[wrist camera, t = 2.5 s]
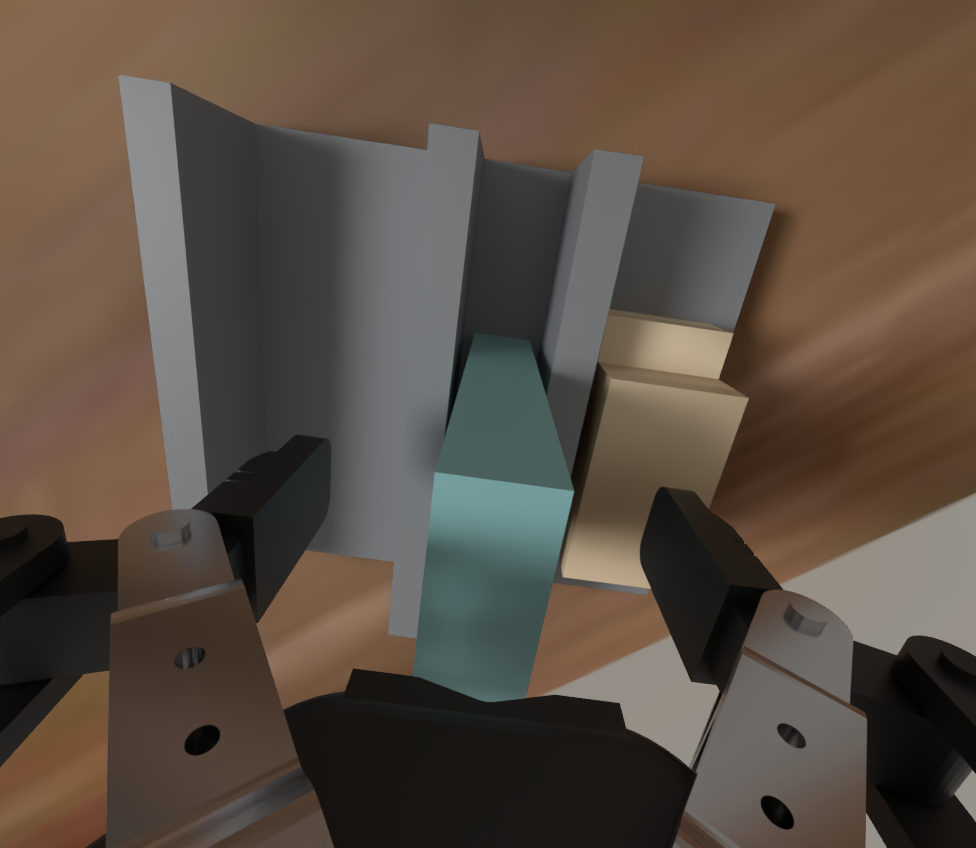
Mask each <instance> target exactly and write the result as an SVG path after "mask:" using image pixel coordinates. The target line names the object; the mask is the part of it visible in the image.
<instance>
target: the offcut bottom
mask: <svg viewBox="0 0 976 848" xmlns="http://www.w3.org/2000/svg"><path fill="white" fill-rule="evenodd" d="M733 334H734V333H731V332H729V331H726V330H724V329H721V328H718V327H716V326H713V325H711V324H708V323H703V322H696V321H689V320H682V319H675V318H669V317H662V316H655V315H648V314H641V313H634V312H628V311H621V310H614V309H609V312H608V316H607V321H606V325H605V329H604V334H603V338H602V343H601V347H600V351H599V356H598V360H597V362H602V363H609V364H616V365H623V366H630V367H637V368H644V369H651V370H658V371H665V372H672V373H679V374H686V375H693V376H700V377H707V378H714V379H719V376H720V373H721V370H722V367H723V364H724V361H725V358H726V355H727V352H728V349H729V346H730V343H731V340H732V337H733ZM596 366H597V364H596ZM595 371H596V369H595ZM594 375H595V373H594ZM593 380H594V377H593ZM592 384H593V382H592ZM591 388H592V386H591ZM590 393H591V391H590ZM589 397H590V395H589ZM588 401H589V399H588ZM587 406H588V404H587ZM586 410H587V408H586ZM585 414H586V412H585ZM584 419H585V417H584ZM583 423H584V421H583ZM582 427H583V425H582ZM581 432H582V430H581ZM580 436H581V434H580ZM579 441H580V439H579ZM578 445H579V443H578ZM577 449H578V447H577ZM576 454H577V452H576ZM575 458H576V456H575ZM574 462H575V460H574ZM573 467H574V465H573ZM572 471H573V469H572ZM571 475H572V473H571ZM570 479H571V478H570Z"/></svg>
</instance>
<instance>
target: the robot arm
mask: <svg viewBox="0 0 976 848" xmlns="http://www.w3.org/2000/svg"><path fill="white" fill-rule="evenodd" d="M330 485H331V443H330V440H329V439H327V438H320V437H313V436H306V435H299V434H296V435H295V436H293V437H292V438H291V439H290V440H289V441H288V442H287V443H286V444H285V445H283V446H282V447H281V448H280V449H279V450H278V451H277V452H276V451H268V452H266V453H263V454H261V455H258V456H256V457H253V458H251V459H249V460H248V461H247V462H246V463H245V464H243V465H242V466H241V467H240V468H239V469H237V472H234V473H233V474H232V475H230V476H229V477H228V478H227V479H226V481H225V482H222V483H221V484H220V485H218V486H217V487H216V488H215V489H214V490H213V491H211V492H210V493H209V494H208V495H207V496H205V497H204V498H203V499H202V500H201V501H200V502H198V503H197V504H196V505H195V506H194V507H192V508H191V509H175V510H168V511H163V512H159V513H155V514H152V515H149V516H146V517H144V518H141V519H139V520H137V521H136V522H134V523H132V524H131V525H129V526H128V527H127V528H126V529H125V530H124V531H123V532H122V533H121V535H120V536H119V539H113V540H96V541H80V542H67V540H66V535H65V531H64V526H63V524H62V522H61V521H60V520H58V519H56V518H54V517H51V516H46V515H34V514H33V515H17V516H10V517H4V518H0V767H1V766H2V765H3V763H4V762H5V761H6V760H7V759H8V758H9V757H10V756H11V755H12V753H13V752H14V751H15V750H16V749H17V748H18V747H19V746H20V745H21V743H22V742H23V741H24V740H25V739H26V738H27V737H28V736H29V734H30V733H31V732H32V731H33V730H34V729H35V728H36V727H37V726H38V724H39V723H40V722H41V721H42V720H43V719H44V718H45V717H46V716H47V714H48V713H49V712H50V711H51V710H52V709H53V708H54V707H55V706H56V704H57V703H58V702H59V701H60V700H61V699H62V698H63V697H64V696H65V694H66V693H67V692H68V691H69V690H70V689H71V688H72V687H73V685H74V684H75V683H76V682H77V681H78V680H79V679H80V678H81V677H82V675H83V674H87V673H95V672H102V671H109V708H108V755H107V802H106V833H105V834H104V835H102V836H101V837H100V838H98V839H97V840H95V841H94V842H93V843H91V844H90V845H88V846H87V847H86V848H865V837H866V813H867V815H868V816H869V818H870V820H871V821H872V823H873V825H874V826H875V828H876V830H877V832H878V833H879V835H880V837H881V838H882V840H883V842H884V843H885V845H886V847H887V848H976V822H975V820H974V819H973V818H972V816H971V815H970V814H969V813H968V811H967V810H966V809H965V808H964V806H963V805H962V804H961V803H960V801H959V800H958V798H957V797H956V796H955V795H954V793H955V792H956V791H957V789H958V788H959V787H960V785H961V784H962V783H963V781H964V780H965V779H966V778H967V776H968V775H969V774H970V773H971V771H972V770H973V771H974V772H975V773H976V656H974V655H972V654H971V653H969V652H966V651H965V650H963V649H961V648H959V647H957V646H954V645H952V644H950V643H947V642H944V641H942V640H939V639H935V638H932V637H927V636H912V637H910V638H908V639H907V640H906V642H905V644H904V645H903V647H902V649H901V650H900V652H899V653H898V655H894V654H891V653H888V652H885V651H882V650H879V649H877V648H874V647H871V646H868V645H865V644H862V643H859V642H856V641H853V636H852V634H851V631H850V630H849V628H848V627H847V626H846V624H845V623H844V622H843V621H842V620H841V619H840V618H839V617H838V616H837V615H835V614H834V613H833V612H832V611H830V610H829V609H827V608H826V607H824V606H823V605H821V604H819V603H818V602H816V601H814V600H812V599H810V598H808V597H805V596H803V595H800V594H797V593H794V592H790V591H785V590H783V589H782V587H781V586H780V585H779V584H778V582H777V581H776V580H775V579H774V578H773V576H772V575H771V574H770V573H769V571H768V570H767V569H766V568H765V566H764V565H763V564H762V563H761V562H760V560H759V559H758V558H757V557H756V556H754V553H753V552H752V551H751V549H750V548H749V547H748V546H747V544H744V541H743V539H742V538H741V537H740V536H739V535H738V533H737V532H736V531H735V530H734V528H733V527H732V526H730V525H729V524H727V523H726V522H725V521H723V520H722V519H721V518H719V517H718V516H716V515H715V514H713V513H711V512H710V510H709V509H708V508H707V507H706V505H705V504H704V503H703V502H702V500H701V499H700V498H699V496H698V495H697V494H696V493H695V492H694V491H691V490H684V489H676V488H669V487H660V488H659V489H658V490H657V492H656V494H655V497H654V500H653V504H652V507H651V510H650V513H649V517H648V520H647V523H646V526H645V529H644V533H643V536H642V539H641V544H640V563H641V566H642V569H643V571H644V573H645V576H646V578H647V580H648V583H649V585H650V587H651V590H652V592H653V594H654V597H655V599H656V601H657V604H658V606H659V608H660V610H661V613H662V615H663V617H664V620H665V622H666V624H667V627H668V629H669V631H670V634H671V636H672V638H673V640H674V643H675V645H676V648H677V650H678V652H679V654H680V657H681V659H682V661H683V664H684V666H685V668H686V670H687V673H688V675H689V678H690V680H691V682H698V683H705V684H713V685H717V687H718V689H719V691H720V692H719V694H718V696H717V699H716V701H715V703H714V705H713V708H712V710H711V713H710V716H709V718H708V721H707V723H706V726H705V729H704V731H703V733H702V736H701V739H700V741H699V744H698V746H697V749H696V751H695V754H694V756H693V759H692V761H691V764H690V767H687V765H686V764H684V763H683V762H682V761H681V760H680V759H678V758H677V757H676V756H674V755H673V754H671V753H670V752H669V751H667V750H666V749H664V748H663V747H661V746H659V745H658V744H656V743H655V742H653V741H651V740H650V739H648V738H646V737H644V736H642V735H640V734H638V733H636V732H634V731H631V730H628V729H626V726H625V722H624V718H623V714H622V710H621V707H620V703H614V702H607V701H599V700H591V699H583V698H575V697H568V696H560V695H549V696H540V697H532V698H523V699H514V700H506V701H497V702H485V701H481V700H478V699H476V698H473V697H470V696H468V695H465V694H462V693H460V692H457V691H454V690H452V689H449V688H447V687H444V686H441V685H439V684H436V683H433V682H431V681H428V680H426V679H423V678H420V677H414V676H407V675H399V674H391V673H384V672H376V671H368V670H361V669H353V670H352V673H351V676H350V679H349V682H348V685H347V687H346V690H345V691H344V692H336V693H331V694H327V695H322V696H318V697H314V698H311V699H308V700H306V701H303V702H300V703H297V704H295V705H293V706H291V707H288V708H286V709H284V710H283V708H282V705H281V702H280V698H279V695H278V692H277V689H276V686H275V682H274V679H273V676H272V673H271V670H270V666H269V663H268V660H267V657H266V654H265V650H264V647H263V644H262V641H261V638H260V634H259V631H258V628H257V625H256V623H258V622H259V621H260V619H261V618H262V616H263V614H264V613H265V611H266V610H267V608H268V607H269V605H270V604H271V602H272V601H273V599H274V597H275V596H276V594H277V593H278V591H279V590H280V588H281V587H282V585H283V584H284V582H285V581H286V579H287V577H288V576H289V574H290V573H291V571H292V570H293V568H294V567H295V565H296V564H297V562H298V560H299V559H300V557H301V556H302V554H303V553H304V551H305V550H306V548H307V547H308V545H309V544H310V542H311V540H312V539H313V537H314V536H315V534H316V533H317V531H318V530H319V528H320V527H321V525H322V523H323V522H324V520H325V518H326V515H327V512H328V508H329V503H330Z"/></svg>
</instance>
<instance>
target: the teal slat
mask: <svg viewBox="0 0 976 848" xmlns="http://www.w3.org/2000/svg"><path fill="white" fill-rule="evenodd" d="M573 494H574V489H573V485H572V482H571V479H570V475H569V472H568V468H567V465H566V462H565V458H564V455H563V451H562V448H561V445H560V441H559V438H558V434H557V431H556V428H555V424H554V421H553V417H552V414H551V411H550V407H549V404H548V401H547V397H546V394H545V390H544V387H543V384H542V380H541V377H540V373H539V370H538V367H537V363H536V360H535V356H534V353H533V350H532V346H531V343H530V340H523V339H516V338H509V337H502V336H495V335H488V334H481V333H475V334H474V338H473V341H472V345H471V348H470V352H469V355H468V359H467V362H466V366H465V369H464V373H463V376H462V380H461V383H460V387H459V390H458V393H457V397H456V400H455V404H454V407H453V411H452V414H451V418H450V421H449V425H448V428H447V432H446V435H445V439H444V442H443V446H442V449H441V452H440V456H439V459H438V463H437V466H436V470H435V475H434V484H433V493H432V503H431V512H430V521H429V530H428V539H427V548H426V557H425V567H424V576H423V585H422V594H421V603H420V612H419V621H418V631H417V640H416V649H415V658H414V667H413V676H414V677H420V678H423V679H426V680H428V681H431V682H433V683H436V684H439V685H441V686H444V687H447V688H449V689H452V690H454V691H457V692H460V693H462V694H465V695H468V696H470V697H473V698H476V699H478V700H481V701H485V702H497V701H506V700H514V699H523V698H526V694H527V690H528V686H529V681H530V677H531V673H532V669H533V664H534V660H535V656H536V652H537V647H538V643H539V639H540V634H541V630H542V626H543V622H544V617H545V613H546V609H547V605H548V600H549V596H550V592H551V588H552V583H553V579H554V575H555V571H556V566H557V562H558V558H559V554H560V549H561V545H562V541H563V537H564V532H565V528H566V524H567V520H568V515H569V511H570V507H571V503H572V498H573Z"/></svg>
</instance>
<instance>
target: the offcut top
mask: <svg viewBox="0 0 976 848" xmlns="http://www.w3.org/2000/svg"><path fill="white" fill-rule="evenodd" d="M748 400H749V398H748V397H746V396H745V395H743V394H741V393H740V392H738V391H737V390H735V389H733V388H732V387H730V386H729V385H727V384H725V383H724V382H722V381H721V380H719V379H714V378H707V377H700V376H693V375H686V374H679V373H672V372H665V371H658V370H651V369H644V368H637V367H630V366H623V365H616V364H609V363H602V362H597V366H596V371H595V375H594V380H593V384H592V388H591V393H590V397H589V401H588V406H587V410H586V414H585V419H584V423H583V427H582V432H581V436H580V441H579V445H578V449H577V454H576V458H575V462H574V467H573V471H572V475H571V482H572V485H573V489H574V494H573V498H572V503H571V507H570V511H569V515H568V520H567V524H566V528H565V532H564V537H563V541H562V545H561V549H560V554H559V559H560V565H561V570H562V576H563V577H565V578H573V579H580V580H588V581H596V582H603V583H611V584H619V585H626V586H634V587H641V588H649V589H651V587H650V585H649V583H648V580H647V578H646V576H645V573H644V571H643V569H642V566H641V563H640V544H641V539H642V536H643V533H644V529H645V526H646V523H647V520H648V517H649V513H650V510H651V507H652V504H653V500H654V497H655V494H656V492H657V490H658V489H659V488H660V487H669V488H676V489H684V490H691V491H694V492H695V493H696V494H697V495H698V496H699V498H700V499H701V500H702V502H703V503H704V504H705V505H706V507H707V508H708V509H709V508H710V505H711V502H712V499H713V497H714V494H715V491H716V488H717V485H718V483H719V480H720V477H721V474H722V472H723V469H724V466H725V463H726V461H727V458H728V455H729V452H730V449H731V447H732V444H733V441H734V438H735V436H736V433H737V430H738V427H739V424H740V422H741V419H742V416H743V413H744V411H745V408H746V405H747V402H748Z"/></svg>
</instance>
